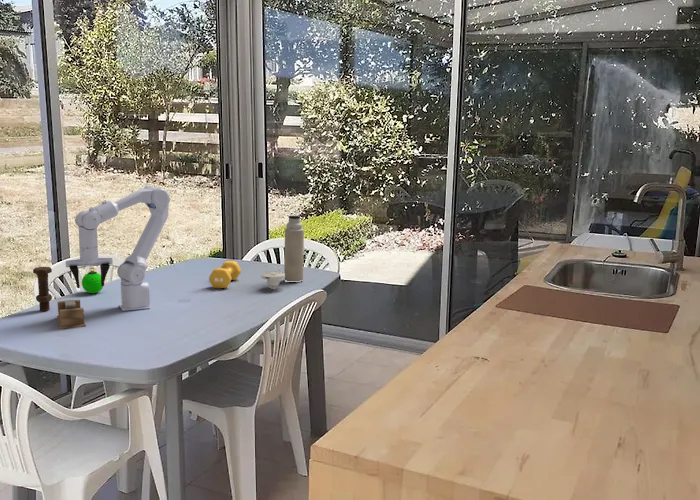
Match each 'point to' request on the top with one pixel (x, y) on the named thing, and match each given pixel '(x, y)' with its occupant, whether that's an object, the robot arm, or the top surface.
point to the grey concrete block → (69, 304)
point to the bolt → (43, 287)
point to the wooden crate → (70, 316)
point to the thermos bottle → (294, 249)
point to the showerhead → (273, 278)
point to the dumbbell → (225, 274)
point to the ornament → (92, 282)
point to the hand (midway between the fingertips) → (90, 286)
